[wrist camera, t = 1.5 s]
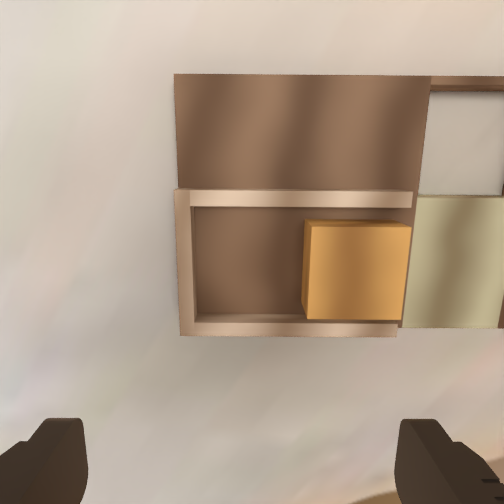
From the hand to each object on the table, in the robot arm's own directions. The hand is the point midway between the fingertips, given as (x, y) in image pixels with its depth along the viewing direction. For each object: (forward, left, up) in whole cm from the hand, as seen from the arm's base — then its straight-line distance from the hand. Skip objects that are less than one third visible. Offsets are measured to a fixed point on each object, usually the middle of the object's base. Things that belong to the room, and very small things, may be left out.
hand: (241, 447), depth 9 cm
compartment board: (-8, 0, -19) cm, 20 cm away
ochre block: (-6, +3, -17) cm, 18 cm away
